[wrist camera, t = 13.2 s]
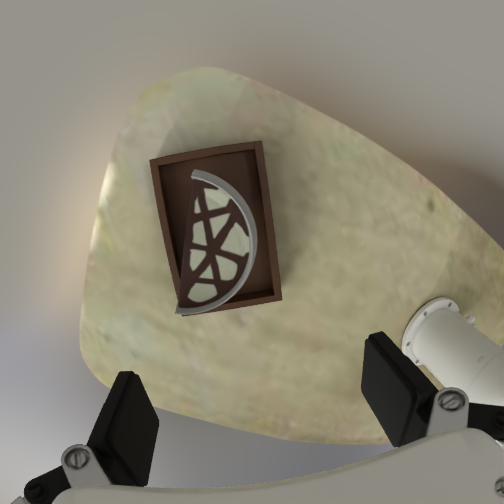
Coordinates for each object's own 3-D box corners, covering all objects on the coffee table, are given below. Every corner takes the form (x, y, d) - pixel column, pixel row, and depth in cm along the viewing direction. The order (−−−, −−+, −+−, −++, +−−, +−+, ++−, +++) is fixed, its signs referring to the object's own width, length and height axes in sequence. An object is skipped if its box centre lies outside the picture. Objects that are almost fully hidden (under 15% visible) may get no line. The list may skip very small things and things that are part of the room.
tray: (258, 143, 31) (261, 140, 28) (278, 290, 36) (282, 300, 33) (155, 160, 30) (149, 159, 27) (184, 306, 35) (182, 316, 32)
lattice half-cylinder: (239, 285, 34) (246, 328, 24) (186, 278, 33) (174, 319, 24) (257, 179, 31) (273, 181, 21) (201, 170, 30) (192, 168, 21)
